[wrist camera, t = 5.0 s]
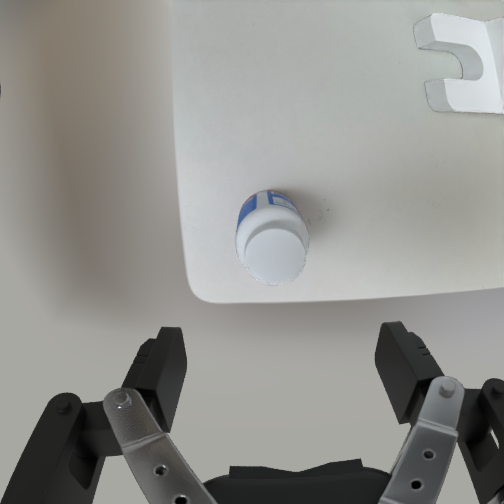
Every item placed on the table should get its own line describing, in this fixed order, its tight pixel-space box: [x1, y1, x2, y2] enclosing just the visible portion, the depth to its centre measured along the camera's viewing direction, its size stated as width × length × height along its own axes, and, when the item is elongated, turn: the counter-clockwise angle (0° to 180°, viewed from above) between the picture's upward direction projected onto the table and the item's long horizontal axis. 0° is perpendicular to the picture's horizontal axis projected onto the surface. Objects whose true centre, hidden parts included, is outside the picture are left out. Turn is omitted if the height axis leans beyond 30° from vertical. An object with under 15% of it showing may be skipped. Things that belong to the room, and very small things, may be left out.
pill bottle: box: [235, 191, 309, 286], centre depth 25 cm, size 6×5×10 cm
